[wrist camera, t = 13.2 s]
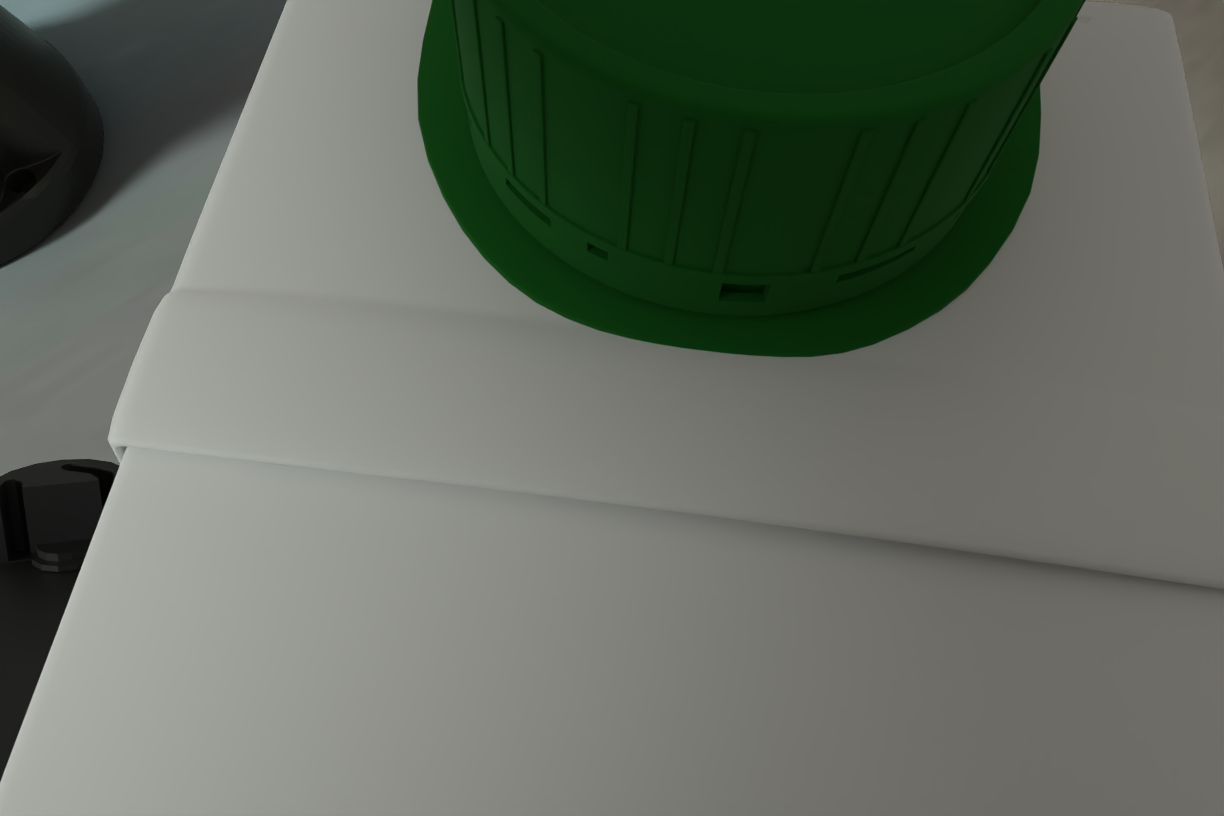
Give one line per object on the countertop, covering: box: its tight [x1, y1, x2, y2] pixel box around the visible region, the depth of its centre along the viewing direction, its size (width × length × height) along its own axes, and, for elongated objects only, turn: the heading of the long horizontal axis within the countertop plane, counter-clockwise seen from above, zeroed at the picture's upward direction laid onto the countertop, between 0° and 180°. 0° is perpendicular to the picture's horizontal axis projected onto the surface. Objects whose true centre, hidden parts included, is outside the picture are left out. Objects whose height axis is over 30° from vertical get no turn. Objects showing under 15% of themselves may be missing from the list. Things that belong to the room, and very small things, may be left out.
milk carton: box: [0, 0, 1224, 816], centre depth 14 cm, size 9×9×20 cm
